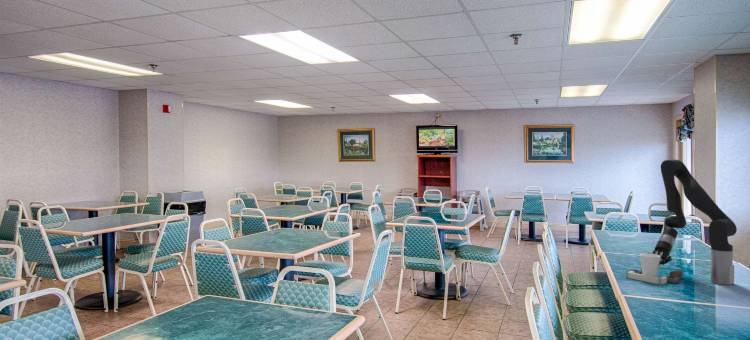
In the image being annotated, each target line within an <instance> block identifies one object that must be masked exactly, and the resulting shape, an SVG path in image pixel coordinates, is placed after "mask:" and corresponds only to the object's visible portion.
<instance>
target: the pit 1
mask: <svg viewBox="0 0 750 340" xmlns="http://www.w3.org/2000/svg"><path fill="white" fill-rule="evenodd" d="M629 271H635V273H637V274H642V271H641V269H640V270H638V269H634V268H632V269H628V270H627V272H629Z"/></svg>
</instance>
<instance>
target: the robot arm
mask: <svg viewBox="0 0 750 340" xmlns="http://www.w3.org/2000/svg"><path fill="white" fill-rule="evenodd" d="M660 173H661V177H662V180H663V185H664V189H665V194H666V196H665V197H666V208H667V211H668V212H670V213H673V214H675V215H667V216H666V217H665V218H664V221H663V222H664V223H663V231H662V233H661V235H660V236H659V238H658V240H657V242H656V245H655V246H654V250H653V251H652V252H647V253H646V254H656V255H659V256H660V262H659V266H661V265H662V266H664V265H666V264H668V263H670V262H671V261H673V258H672V257H673V256H671V252H672V249H673V247H674V245H675V241H676V239H677V238H678V231H677V230H676V229H679V230H680V229H684V228H686V225H687V220H686V219H687V218H686V217H685V214H684V211H683V209H682V197H681V193H680V192H679V189H678V188H677V185H676V183H675V178H676V179H678V181H679V182H680V183H681V185H682V189H683V193H684V196H685V198H686V199H687V200H688V201H689V203H690V204H691V205H692V206H693V207H694V208H696V209H697V210H699V212H702V213H703V214H704V215H706V216H708V217H709V219H710V220H711V221H710V223H709V225H708V242H709V245H710V282H711V283H714V284H719V285H727V286H730V285H733V284H735V264H734V262H733V261H734V256H733V255H734V247H733V245H732V244H730V242H729V237H732V236H734V235H736V233H737V225H736V223H735V222H734V221H733V220H732V219H731V217H729V216H728V215H727V214H726V213H725V212H723V210H722V209H721V208H720V207H719V206H718V204H716V203H715V202H716V201H714V200H713V199H712V197H711V196H710V195H709V194H708V192H707V191H706V190H705V189H704V188H703V187H702V186H701V185H700V184H699V182H698V181H697V180H696V179H695V177H694V176H693V175H692V173H691V172H690V171H689V169H688V168H687V165H686V164H685V163H684V162H683V161H682V160H680V159H674V158H673V159H664V160H663V161H662V162H661V164H660ZM733 264H734V265H733Z"/></svg>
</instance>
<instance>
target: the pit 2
mask: <svg viewBox="0 0 750 340" xmlns="http://www.w3.org/2000/svg"><path fill="white" fill-rule="evenodd" d="M665 277H667V283H666V284H673V285H676V284H680V279H681V278H678V277H672V276H670V275H666V276H665Z"/></svg>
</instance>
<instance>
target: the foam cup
mask: <svg viewBox="0 0 750 340" xmlns="http://www.w3.org/2000/svg"><path fill="white" fill-rule="evenodd" d="M639 260H640V266H641V267H640V269H641V268H642V275H647V276H652V277H658V273H659V267H660V265H659V262H660V256H659V255H656V254H647V253H639Z"/></svg>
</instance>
